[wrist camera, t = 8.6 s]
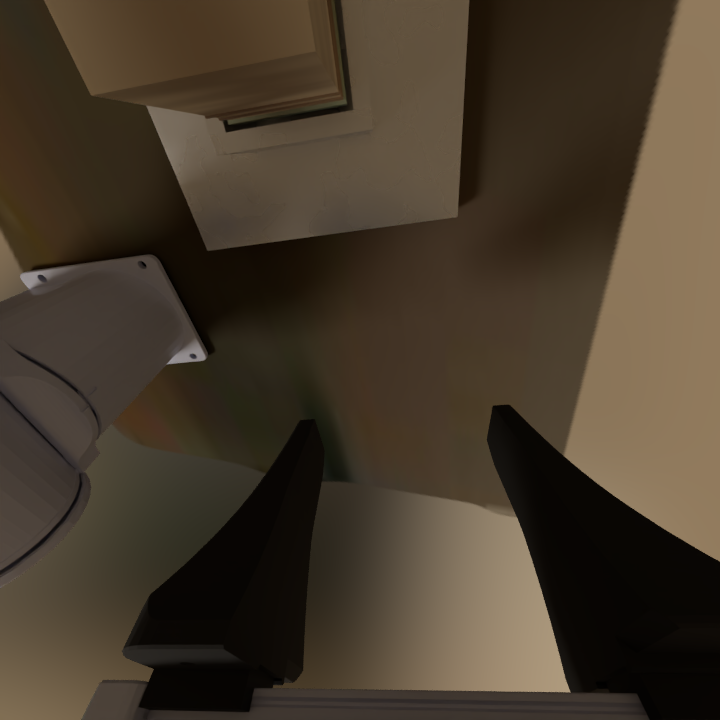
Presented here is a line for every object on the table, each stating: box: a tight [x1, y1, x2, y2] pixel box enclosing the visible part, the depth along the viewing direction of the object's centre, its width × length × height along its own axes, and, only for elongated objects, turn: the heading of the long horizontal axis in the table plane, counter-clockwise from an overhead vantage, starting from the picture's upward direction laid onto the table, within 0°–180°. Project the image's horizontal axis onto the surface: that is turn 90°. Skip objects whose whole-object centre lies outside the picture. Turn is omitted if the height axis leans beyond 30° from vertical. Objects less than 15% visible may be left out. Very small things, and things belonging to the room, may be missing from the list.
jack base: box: [146, 0, 469, 251], centre depth 11 cm, size 14×14×6 cm
